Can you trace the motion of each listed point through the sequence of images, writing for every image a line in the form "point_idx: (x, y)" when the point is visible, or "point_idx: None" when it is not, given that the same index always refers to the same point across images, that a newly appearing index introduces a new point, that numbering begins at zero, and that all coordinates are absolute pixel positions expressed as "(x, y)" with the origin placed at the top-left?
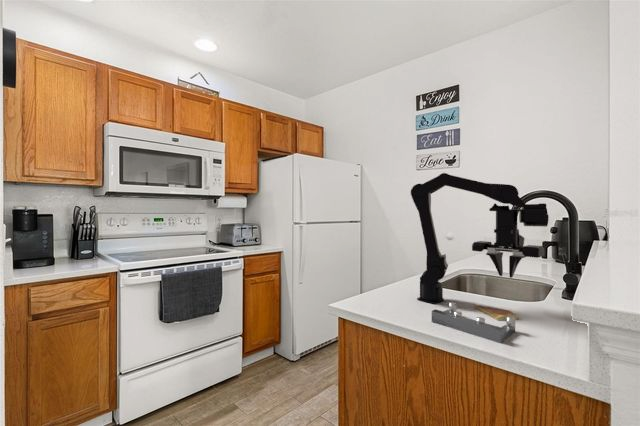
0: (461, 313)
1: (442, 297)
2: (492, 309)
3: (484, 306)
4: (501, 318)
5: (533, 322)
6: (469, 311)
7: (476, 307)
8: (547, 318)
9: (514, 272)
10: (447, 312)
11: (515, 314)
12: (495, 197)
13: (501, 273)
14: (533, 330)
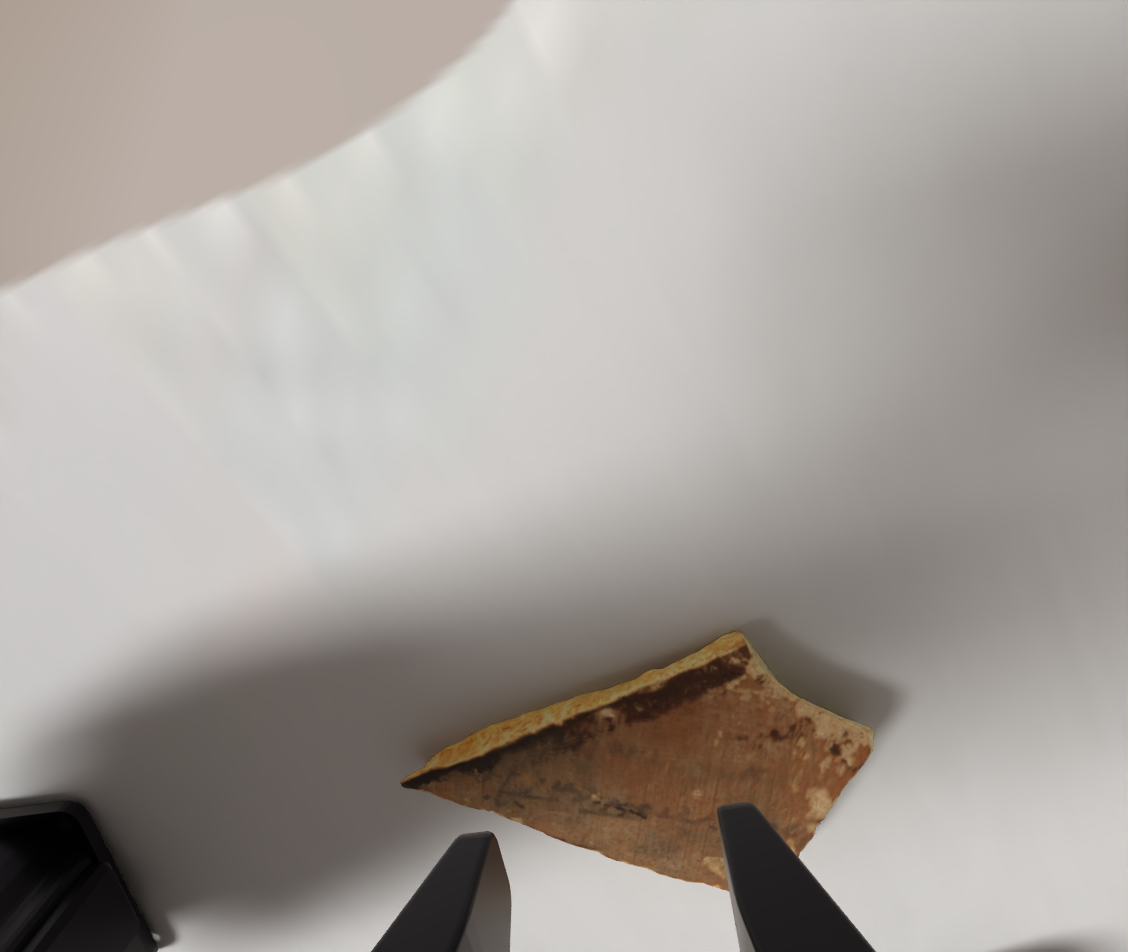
0: None
1: (95, 890)
2: (613, 780)
3: (496, 749)
4: None
5: (1003, 677)
6: None
7: (449, 791)
8: (1072, 439)
9: (828, 895)
10: None
11: (850, 746)
12: None
13: (499, 933)
14: (1072, 851)
